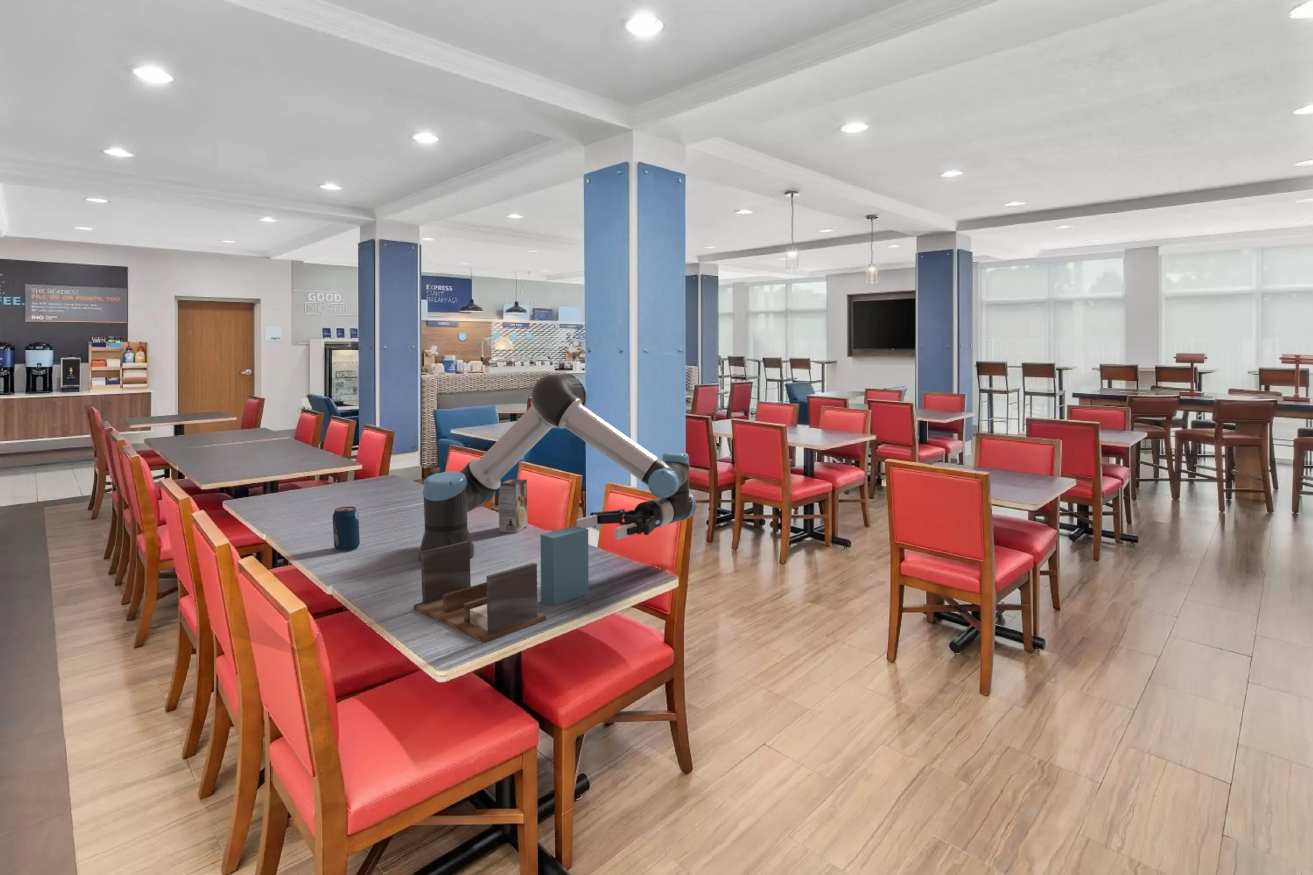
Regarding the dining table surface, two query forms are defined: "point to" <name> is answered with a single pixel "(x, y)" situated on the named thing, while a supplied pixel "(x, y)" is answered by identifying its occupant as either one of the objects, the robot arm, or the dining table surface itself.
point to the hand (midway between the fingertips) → (596, 529)
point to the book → (564, 565)
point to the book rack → (477, 594)
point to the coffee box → (512, 505)
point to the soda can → (346, 529)
